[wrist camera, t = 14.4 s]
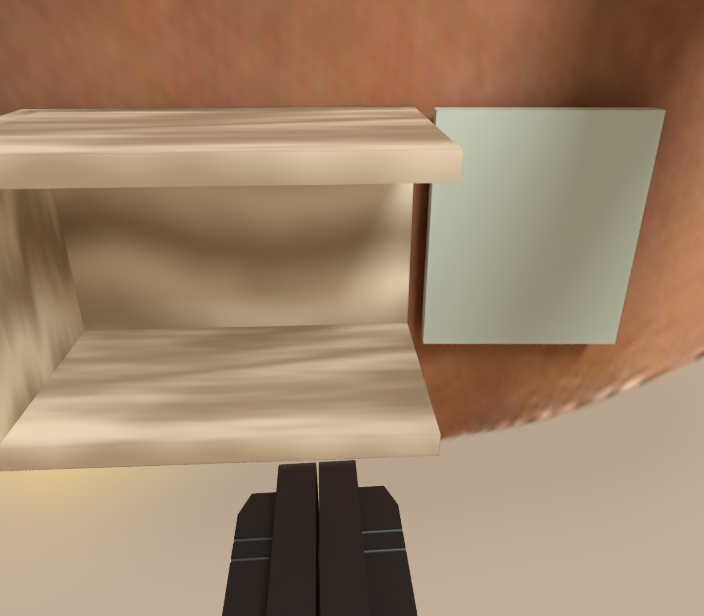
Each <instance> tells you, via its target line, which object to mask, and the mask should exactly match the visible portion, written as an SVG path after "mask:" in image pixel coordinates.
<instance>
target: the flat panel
mask: <svg viewBox="0 0 704 616" xmlns="http://www.w3.org/2000/svg"><path fill="white" fill-rule="evenodd" d="M665 112H666V110H664V109H660V108H657V107H434V114H433V124H434V125H435V126H436V127H438V128H439V129H440V130H441V131H442V132H443V133H444V134H445V135H447V136H448V137H449V138H450V139H451V140H452V141H453V142H454V143H456V144H457V145H458V146H459V147H460V148H461V149H462V150H463V155H462V168H461V181H460V183H430V186H429V204H428V222H427V240H426V257H425V275H424V293H423V311H422V329H421V336H422V341H423V344H615V342H616V337H617V332H618V328H619V323H620V319H621V314H622V309H623V305H624V300H625V296H626V291H627V287H628V282H629V277H630V273H631V268H632V264H633V259H634V254H635V250H636V245H637V241H638V236H639V231H640V227H641V222H642V218H643V213H644V209H645V204H646V199H647V195H648V190H649V186H650V181H651V176H652V172H653V167H654V163H655V158H656V154H657V149H658V144H659V140H660V135H661V131H662V126H663V121H664V117H665Z"/></svg>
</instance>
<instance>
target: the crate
mask: <svg viewBox="0 0 704 616" xmlns="http://www.w3.org/2000/svg"><path fill="white" fill-rule="evenodd" d="M462 155H463V150H462V149H461V148H460V147H459V146H458V145H457V144H456V143H454V142H453V141H452V140H451V139H450V138H449V137H448V136H447V135H445V134H444V133H443V132H442V131H441V130H440V129H439V128H438V127H436V126H435V125H434V124H433V123H432V122H431V121H430V120H429V119H427V118H426V117H425V116H424V115H423V114H422V113H421V112H419V111H418V110H417V109H416V108H415V107H414V106H362V107H238V108H113V109H22V110H18V111H15V112H12V113H8V114H5V115H2V116H0V471H18V470H19V471H20V470H46V469H47V470H48V469H72V468H73V469H75V468H102V467H130V466H159V465H187V464H215V463H240V462H271V461H297V460H298V461H299V460H326V459H355V458H381V457H408V456H409V457H410V456H437V455H439V448H440V436H441V434H440V431H439V428H438V424H437V421H436V418H435V414H434V411H433V408H432V404H431V401H430V398H429V394H428V391H427V387H426V384H425V381H424V377H423V374H422V371H421V367H420V364H419V361H418V357H417V354H416V351H415V347H414V344H413V341H412V337H411V334H410V330H409V327H408V324H407V316H408V294H409V271H410V248H411V225H412V203H413V183H460V181H461V168H462Z"/></svg>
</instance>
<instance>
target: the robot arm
mask: <svg viewBox="0 0 704 616" xmlns="http://www.w3.org/2000/svg"><path fill="white" fill-rule="evenodd" d="M222 616H417V610H416V605H415V599H414V593H413V587H412V582H411V576H410V570H409V565H408V559H407V553H406V550H405V542H404V537H403V532H402V525H401V519H400V513H399V507H398V504H397V503H396V501H395V500H394V499H393V497H392V496H391V495H390V493H389V492H388V491H387V489H386V488H385V487H384V486H372V487H358V482H357V472H356V462H355V460H350V461H334V462H333V461H332V462H319V501H318V485H317V470H316V463H300V464H282V465H279V468H278V479H277V491H276V492H273V493H256V494H252V495H251V496H250V498H249V499H248V501H247V502H246V503H245V505H244V506H243V508H242V509H241V511H240V512H239V514H238V517H237V523H236V530H235V536H234V543H233V550H232V555H231V563H230V569H229V574H228V581H227V587H226V594H225V600H224V607H223V613H222Z"/></svg>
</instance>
